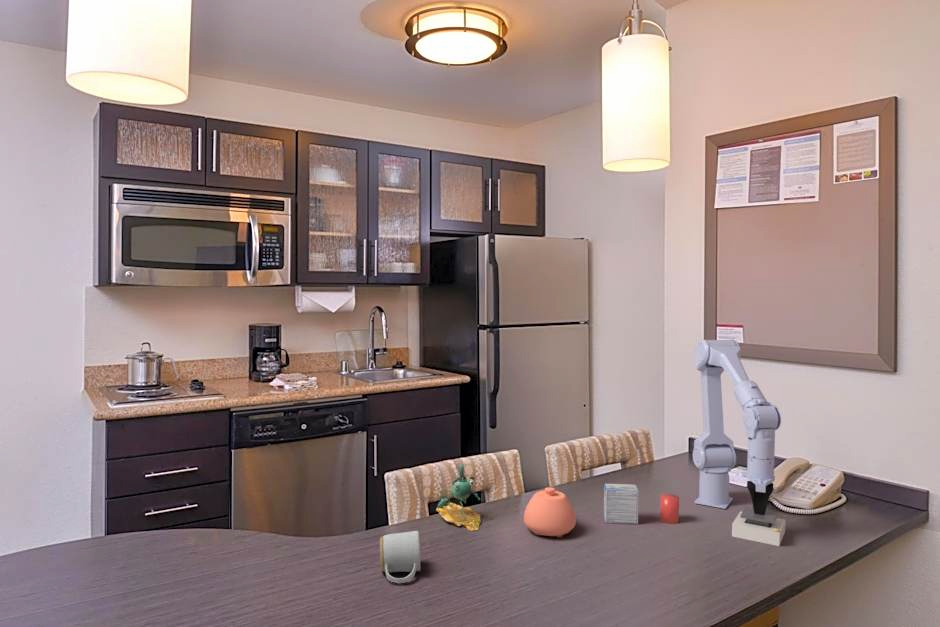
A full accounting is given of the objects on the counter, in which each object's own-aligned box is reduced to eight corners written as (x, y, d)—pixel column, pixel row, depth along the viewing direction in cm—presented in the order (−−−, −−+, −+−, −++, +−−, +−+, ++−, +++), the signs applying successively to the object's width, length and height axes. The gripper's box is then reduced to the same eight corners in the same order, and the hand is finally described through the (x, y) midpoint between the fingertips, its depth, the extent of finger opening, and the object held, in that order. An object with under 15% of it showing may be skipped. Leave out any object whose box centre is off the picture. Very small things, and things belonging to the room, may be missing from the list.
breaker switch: (745, 521, 154) (746, 506, 154) (777, 527, 150) (777, 512, 150) (740, 530, 148) (740, 515, 148) (773, 536, 144) (773, 521, 144)
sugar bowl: (519, 538, 146) (520, 494, 146) (528, 517, 160) (529, 476, 159) (573, 543, 143) (574, 498, 143) (578, 521, 157) (578, 480, 156)
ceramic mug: (380, 562, 132) (380, 526, 132) (419, 560, 134) (419, 525, 133) (379, 587, 122) (379, 548, 122) (422, 585, 123) (422, 546, 123)
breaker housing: (740, 523, 156) (740, 508, 156) (785, 532, 151) (785, 517, 151) (731, 536, 148) (732, 521, 148) (779, 546, 142) (779, 530, 142)
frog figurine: (461, 504, 169) (465, 451, 167) (493, 536, 153) (497, 477, 151) (427, 509, 164) (431, 454, 162) (456, 542, 148) (461, 482, 146)
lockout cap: (663, 516, 161) (663, 492, 161) (680, 519, 158) (681, 496, 158) (657, 521, 157) (658, 497, 157) (675, 525, 155) (676, 500, 154)
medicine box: (635, 518, 159) (636, 484, 159) (638, 524, 155) (638, 489, 154) (603, 517, 160) (603, 483, 160) (605, 523, 156) (606, 488, 155)
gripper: (742, 447, 157) (741, 502, 157) (741, 462, 144) (740, 521, 144) (774, 450, 154) (772, 506, 154) (776, 465, 141) (774, 526, 141)
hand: (759, 513), depth 149 cm, fingers closed, pressing on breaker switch
